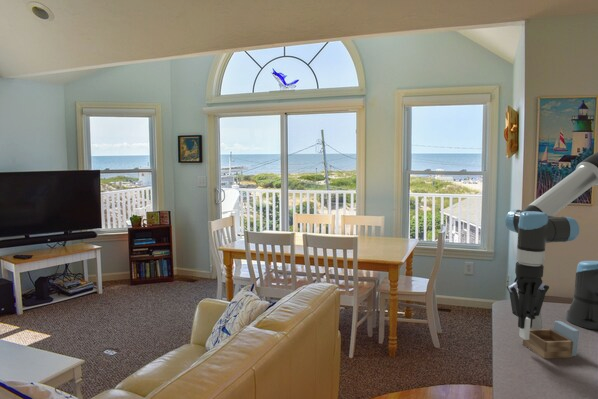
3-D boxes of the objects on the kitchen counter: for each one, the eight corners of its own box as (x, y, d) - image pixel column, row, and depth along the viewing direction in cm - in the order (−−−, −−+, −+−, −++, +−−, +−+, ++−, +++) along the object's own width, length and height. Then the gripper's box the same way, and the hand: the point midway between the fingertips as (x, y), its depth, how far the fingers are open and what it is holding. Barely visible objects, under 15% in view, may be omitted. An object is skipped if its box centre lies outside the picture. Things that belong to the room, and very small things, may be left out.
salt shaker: (543, 337, 153) (547, 299, 151) (525, 335, 154) (529, 297, 152) (538, 330, 158) (542, 294, 157) (520, 328, 159) (524, 292, 158)
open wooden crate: (549, 343, 147) (550, 329, 147) (571, 357, 138) (573, 341, 137) (522, 344, 146) (524, 329, 145) (543, 358, 136) (545, 342, 136)
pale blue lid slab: (557, 344, 147) (559, 320, 146) (576, 355, 139) (579, 330, 138) (551, 344, 147) (554, 320, 146) (570, 356, 139) (573, 330, 138)
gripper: (540, 259, 142) (534, 331, 145) (502, 260, 140) (497, 334, 143) (558, 265, 135) (551, 341, 137) (518, 266, 132) (512, 344, 135)
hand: (523, 337), depth 140 cm, fingers closed
